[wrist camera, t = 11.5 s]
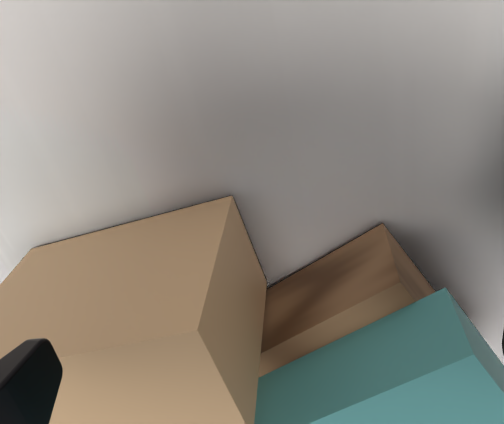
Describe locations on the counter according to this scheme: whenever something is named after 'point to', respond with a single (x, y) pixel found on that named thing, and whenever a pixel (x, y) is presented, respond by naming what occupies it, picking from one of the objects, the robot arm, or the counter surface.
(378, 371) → the lid
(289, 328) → the walnut block
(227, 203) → the box
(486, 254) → the counter surface
